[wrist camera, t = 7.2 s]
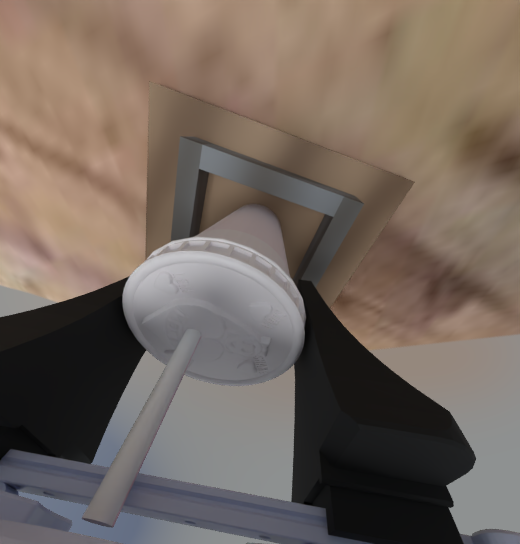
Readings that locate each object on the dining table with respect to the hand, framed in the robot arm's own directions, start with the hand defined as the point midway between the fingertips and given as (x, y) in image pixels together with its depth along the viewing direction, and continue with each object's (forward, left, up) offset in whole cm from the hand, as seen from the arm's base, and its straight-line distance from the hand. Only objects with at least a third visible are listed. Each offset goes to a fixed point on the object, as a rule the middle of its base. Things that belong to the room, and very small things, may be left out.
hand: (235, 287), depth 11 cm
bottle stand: (0, 0, -7) cm, 7 cm away
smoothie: (0, -1, -6) cm, 6 cm away
